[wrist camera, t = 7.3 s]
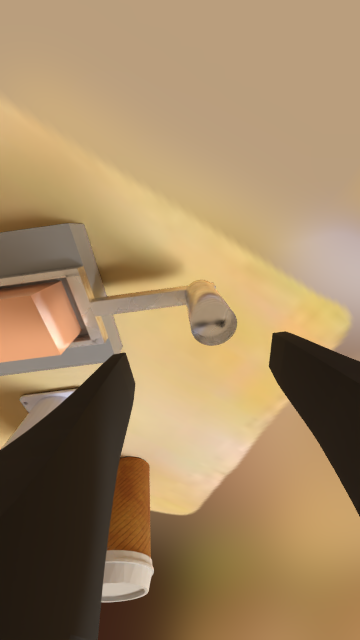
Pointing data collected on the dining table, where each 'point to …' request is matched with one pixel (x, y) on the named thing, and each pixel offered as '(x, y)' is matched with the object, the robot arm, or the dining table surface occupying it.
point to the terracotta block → (36, 321)
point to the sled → (142, 305)
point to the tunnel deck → (50, 254)
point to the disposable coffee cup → (129, 534)
